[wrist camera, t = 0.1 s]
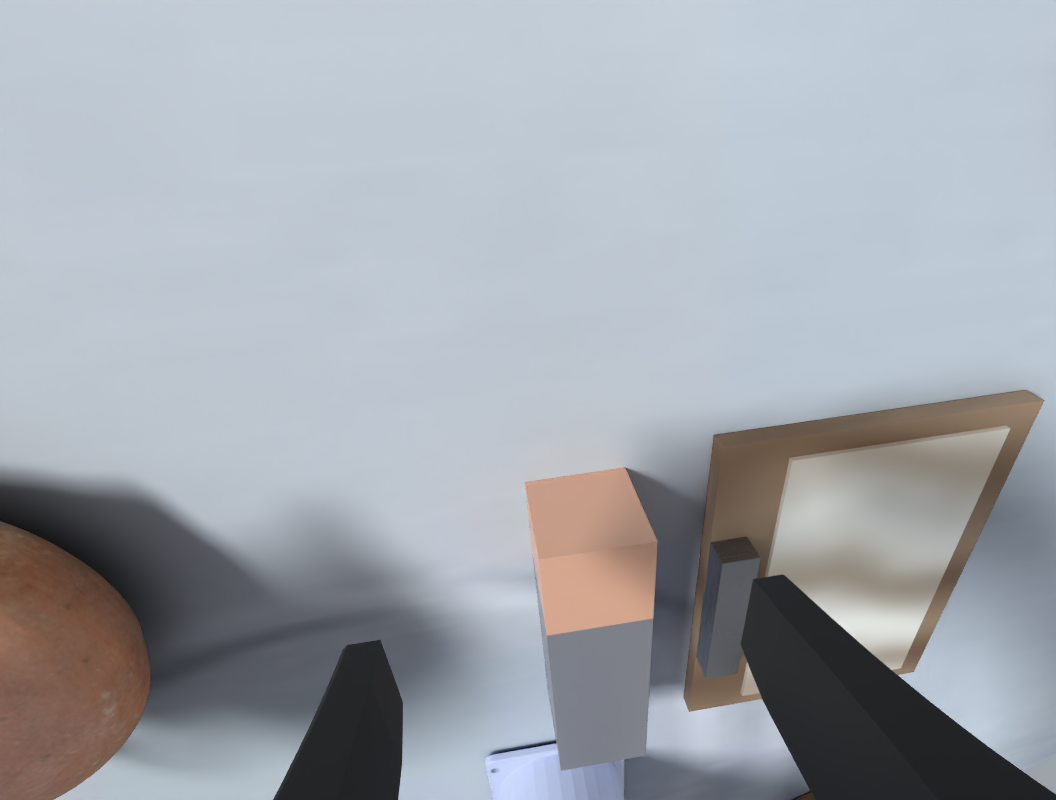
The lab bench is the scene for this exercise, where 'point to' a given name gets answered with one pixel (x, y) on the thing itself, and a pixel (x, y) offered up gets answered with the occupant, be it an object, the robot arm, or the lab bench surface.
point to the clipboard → (848, 526)
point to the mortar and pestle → (806, 797)
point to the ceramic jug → (62, 668)
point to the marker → (594, 612)
